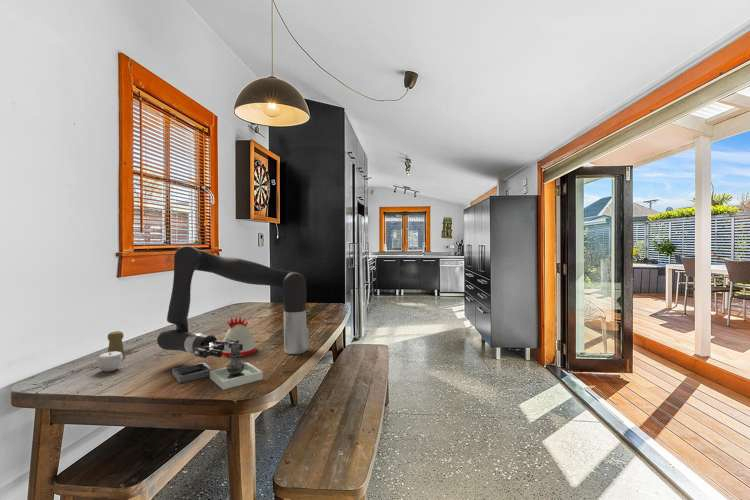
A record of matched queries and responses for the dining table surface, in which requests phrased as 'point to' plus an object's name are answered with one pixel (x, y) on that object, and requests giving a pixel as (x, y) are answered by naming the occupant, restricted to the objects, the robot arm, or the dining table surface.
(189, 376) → the holder
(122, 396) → the dining table surface
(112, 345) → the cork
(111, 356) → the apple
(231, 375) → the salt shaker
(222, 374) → the tray
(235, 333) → the kitchen timer
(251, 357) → the dining table surface
